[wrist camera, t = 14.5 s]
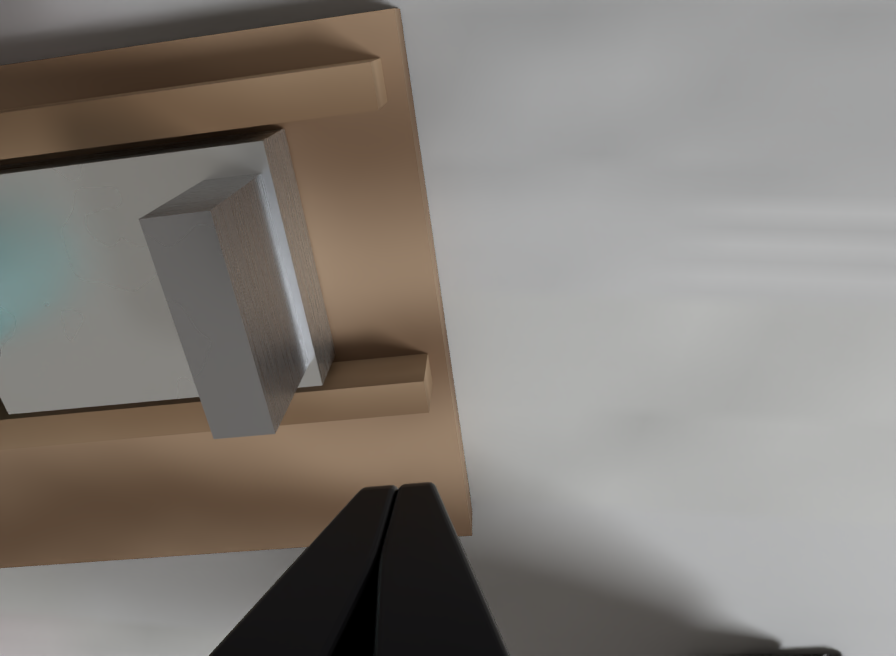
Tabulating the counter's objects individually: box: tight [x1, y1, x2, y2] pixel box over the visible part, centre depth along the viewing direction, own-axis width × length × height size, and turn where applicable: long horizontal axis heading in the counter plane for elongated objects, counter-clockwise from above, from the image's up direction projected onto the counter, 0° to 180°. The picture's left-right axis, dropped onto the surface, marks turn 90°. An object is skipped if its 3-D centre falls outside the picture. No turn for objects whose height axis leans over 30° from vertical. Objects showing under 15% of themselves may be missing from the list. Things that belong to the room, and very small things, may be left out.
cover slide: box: [0, 128, 336, 439], centre depth 16 cm, size 6×9×5 cm
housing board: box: [0, 8, 472, 568], centre depth 19 cm, size 16×18×3 cm
